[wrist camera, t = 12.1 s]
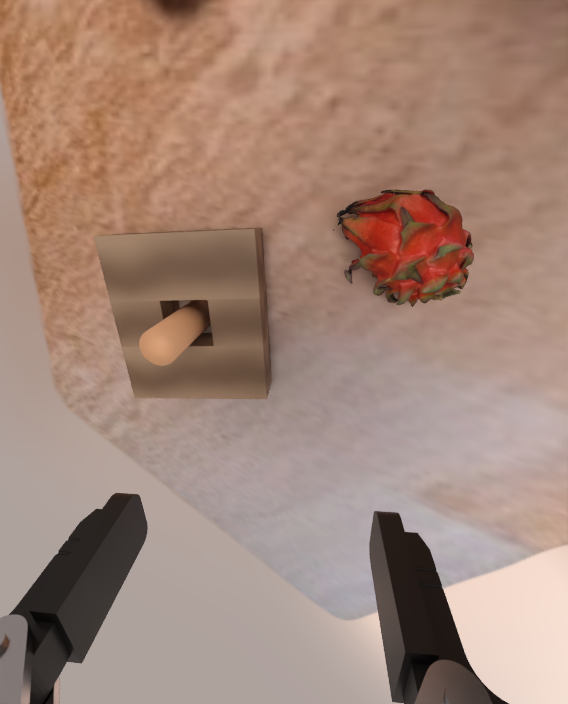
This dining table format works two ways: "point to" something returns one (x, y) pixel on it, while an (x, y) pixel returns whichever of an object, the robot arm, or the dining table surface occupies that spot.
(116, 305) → the hole block
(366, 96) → the dining table surface
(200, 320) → the peg
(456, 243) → the dragon fruit
